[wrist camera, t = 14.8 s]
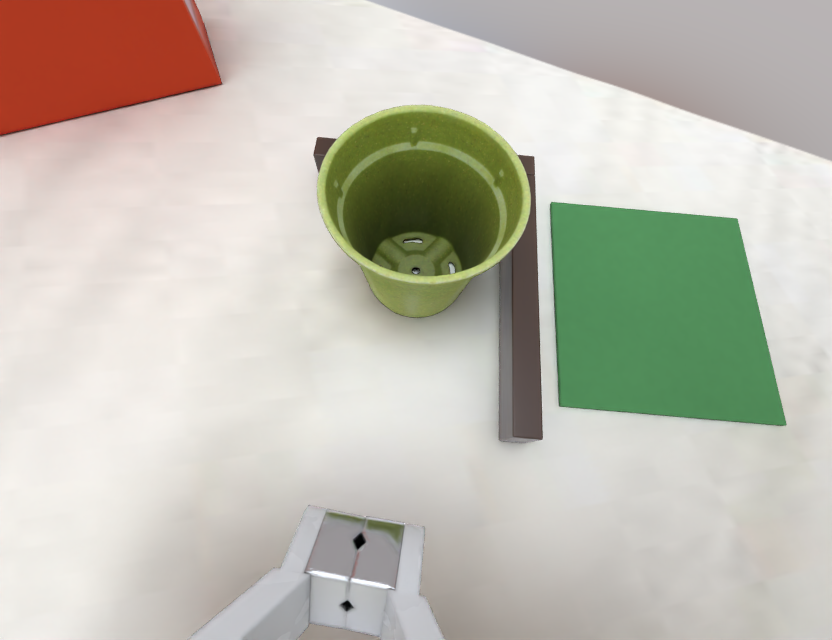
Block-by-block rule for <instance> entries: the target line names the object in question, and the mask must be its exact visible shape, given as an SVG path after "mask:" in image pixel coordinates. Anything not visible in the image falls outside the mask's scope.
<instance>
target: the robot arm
mask: <svg viewBox="0 0 832 640" xmlns="http://www.w3.org/2000/svg"><path fill="white" fill-rule="evenodd" d="M424 537H425V528H424V526H418V525H412V524H406V523H405V524H404V522H399V521H393V520H387V519H381V518H375V517H369V516H366V517H364V516H359V515H355V514H350V513H345V512H340V511H336V510H331V509H326V508H321V507H316V506H311V505H308V507H307V508H306V510H305V511H304V513H303V516H302V518H301V520H300V523H299V525H298V527H297V530H296V532H295V534H294V537H293V539H292V542H291V544H290V546H289V549H288V551H287V553H286V556H285V558H284V560H283V563H282V565H281V567H280V568H273V569H272V570H270V571H269V572H268V573H267V574H266V575H264V576H263V577H262V578H261V579H259V580H258V581H257V582H256V583H255V584H253V585H252V586H251V587H250V588H249V589H247V590H246V591H245V592H244V593H243V594H241V595H240V596H239V597H238V598H236V599H235V600H234V601H233V602H232V603H230V604H229V605H228V606H227V607H226V608H224V609H223V610H222V611H221V612H219V613H218V614H217V615H216V616H215V617H213V618H212V619H211V620H210V621H209V622H207V623H206V624H205V625H204V626H203V627H201V628H200V629H199V630H198V631H196V632H195V633H194V634H193V635H192V636H190V637H189V638H188V639H187V640H297V639H298V638H299V637H300V635H301V634H302V633H303V632H304V631H305V630H306V628H307V627H308V625H309V623H310V624H316V625H322V626H328V627H334V628H341V629H346V630H350V631H355V632H359V633H364V634H368V635H372V636H377V637H380V640H445V639H444V636H443V634H442V632H441V630H440V627H439V625H438V623H437V621H436V619H435V616H434V614H433V612H432V610H431V608H430V605H429V603H428V601H427V599H426V597H425V596H421V595H419V594H420V582H421V571H422V560H423V549H424Z"/></svg>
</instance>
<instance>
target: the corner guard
mask: <svg viewBox="0 0 832 640" xmlns="http://www.w3.org/2000/svg"><path fill="white" fill-rule="evenodd" d="M336 140H337V139H333V138H322V137H318V138H317V141H316V145H315V150H314V158H315V162H316V165H317V169H318V173H319V172H320V168H321V165H322V162H323V160H324V158H325V156H326V154H327V152H328V150H329V149H330V147H331V146H332V145H333V143H334V142H335V141H336ZM517 156H518V157H519V159H520V161H521V163H522V165H523V167H524V169H525V172H526V175H527V178H528V182H529V187H530V194H531V206H530V214H529V218H528V222H527V224H526V227H525V230H524V232H523V234H522V235H521V237H520V239H519V241H518V242H517V243H516V245H515V246H514V247H513V249H512V250H511V251H510V252H509V253H508V254H507V255H506V256H505V257H504V258H503V259H502V260H501V261H500V360H499V440H500V441H508V442H519V443H526V442H532V441H538V440H542V439H543V431H542V397H541V364H540V330H539V296H538V263H537V229H536V195H535V176H534V175H535V163H534V157H533V156H523V155H517Z"/></svg>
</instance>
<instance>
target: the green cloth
mask: <svg viewBox="0 0 832 640" xmlns="http://www.w3.org/2000/svg"><path fill="white" fill-rule="evenodd" d="M550 210H551V232H552V254H553V276H554V299H555V321H556V343H557V365H558V388H559V406H561V407H573V408H584V409H596V410H607V411H619V412H630V413H642V414H653V415H665V416H677V417H688V418H700V419H711V420H723V421H734V422H746V423H757V424H769V425H780V426H784V425H786V421H785V416H784V412H783V408H782V404H781V400H780V395H779V391H778V387H777V383H776V379H775V375H774V370H773V366H772V362H771V358H770V354H769V349H768V345H767V341H766V337H765V333H764V328H763V324H762V320H761V316H760V312H759V307H758V303H757V299H756V295H755V291H754V286H753V282H752V278H751V274H750V270H749V265H748V261H747V257H746V253H745V249H744V244H743V240H742V236H741V232H740V228H739V224H738V219H736V218H724V217H713V216H702V215H691V214H680V213H668V212H657V211H646V210H635V209H623V208H612V207H601V206H590V205H578V204H567V203H556V202H551V204H550Z"/></svg>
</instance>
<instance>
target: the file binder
mask: <svg viewBox="0 0 832 640" xmlns="http://www.w3.org/2000/svg"><path fill="white" fill-rule="evenodd" d="M218 84H222V82H221V79H220V76H219V72H218V69H217V66H216V62H215V59H214V56H213V52H212V49H211V46H210V42H209V39H208V36H207V32H206V29H205V26H204V23H203V20H202V17H201V15H200V12H199V10H198V8H197V6H196V3H195V1H194V0H0V135H3V134H7V133H11V132H16V131H20V130H24V129H29V128H33V127H37V126H41V125H46V124H50V123H54V122H59V121H63V120H67V119H72V118H76V117H80V116H84V115H89V114H93V113H97V112H102V111H106V110H110V109H115V108H119V107H123V106H128V105H132V104H136V103H140V102H145V101H149V100H153V99H158V98H162V97H166V96H171V95H175V94H179V93H183V92H188V91H192V90H196V89H201V88H205V87H209V86H214V85H218Z"/></svg>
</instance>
